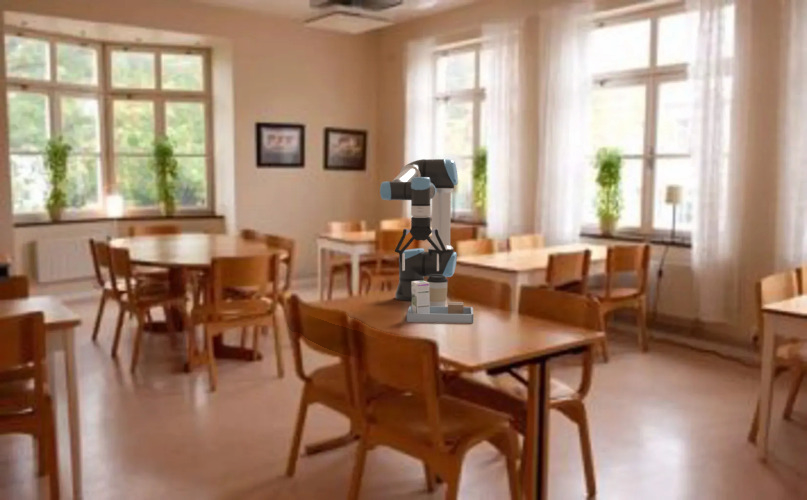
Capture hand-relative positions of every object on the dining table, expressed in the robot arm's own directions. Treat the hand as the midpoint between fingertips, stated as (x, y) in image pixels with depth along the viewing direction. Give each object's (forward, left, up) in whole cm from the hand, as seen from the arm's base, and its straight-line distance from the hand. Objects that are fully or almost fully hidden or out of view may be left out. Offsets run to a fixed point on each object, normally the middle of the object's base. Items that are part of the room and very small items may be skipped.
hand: (420, 270), depth 268 cm
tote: (0, +8, -20) cm, 21 cm away
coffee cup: (-21, +6, -20) cm, 29 cm away
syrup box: (0, 0, -19) cm, 19 cm away
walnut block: (0, +14, -19) cm, 23 cm away
